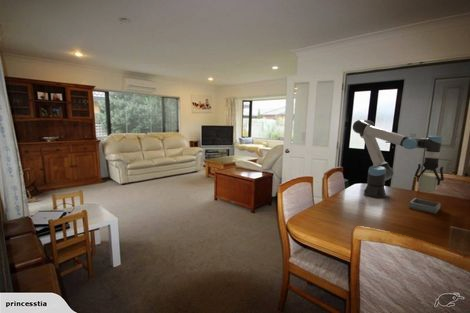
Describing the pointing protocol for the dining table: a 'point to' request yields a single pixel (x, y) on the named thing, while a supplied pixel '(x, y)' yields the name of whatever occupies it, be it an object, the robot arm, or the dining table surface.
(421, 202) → the tray
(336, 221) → the dining table surface
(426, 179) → the can
